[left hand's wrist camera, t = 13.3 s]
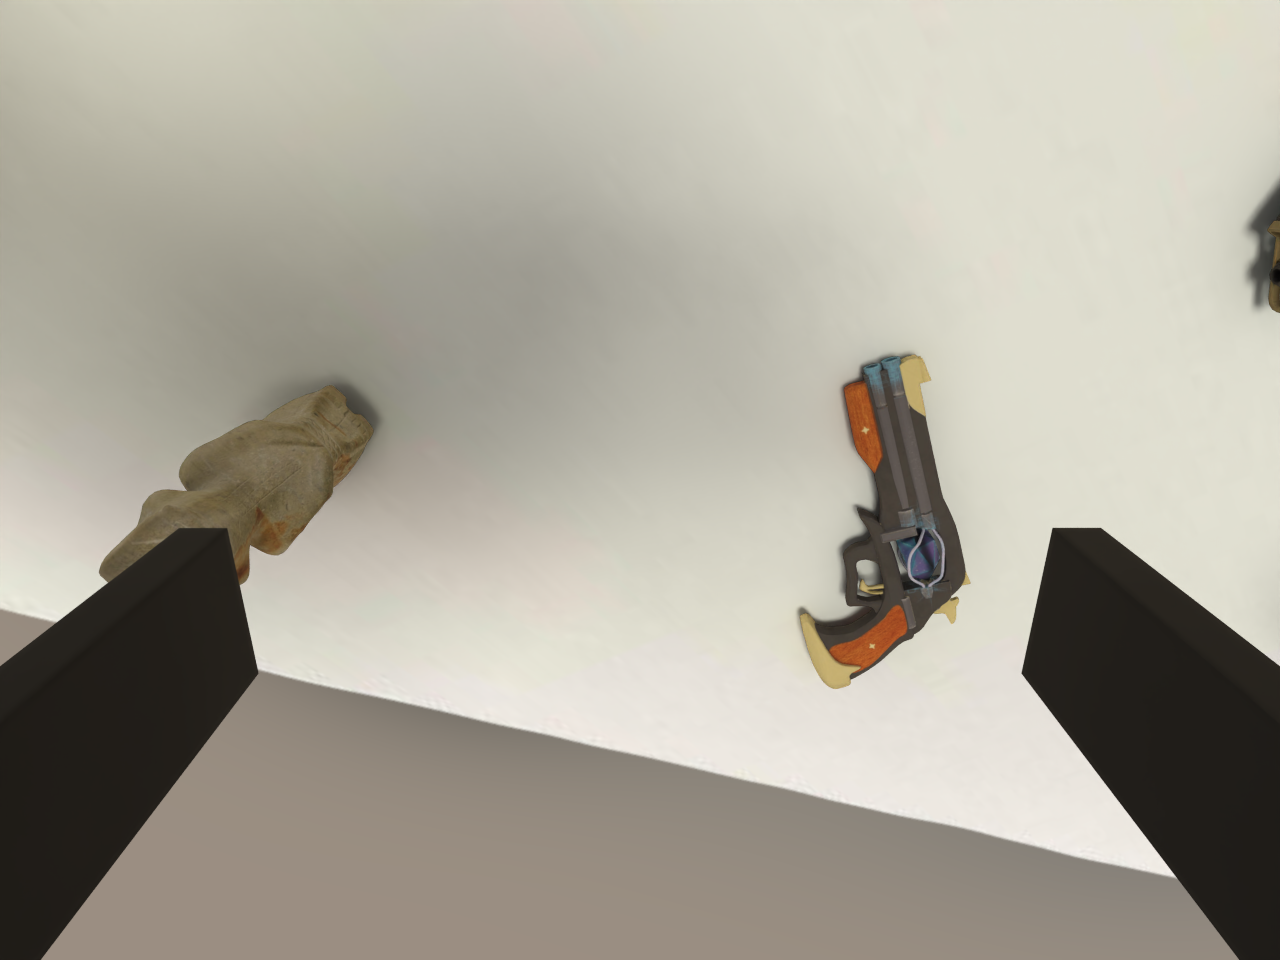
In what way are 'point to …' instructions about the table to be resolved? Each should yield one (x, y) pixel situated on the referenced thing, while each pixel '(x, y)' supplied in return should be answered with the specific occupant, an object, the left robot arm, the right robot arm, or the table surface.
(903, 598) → the toy gun
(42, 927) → the left robot arm
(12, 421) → the table surface
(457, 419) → the table surface
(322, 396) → the sculpture
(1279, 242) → the spray gun
